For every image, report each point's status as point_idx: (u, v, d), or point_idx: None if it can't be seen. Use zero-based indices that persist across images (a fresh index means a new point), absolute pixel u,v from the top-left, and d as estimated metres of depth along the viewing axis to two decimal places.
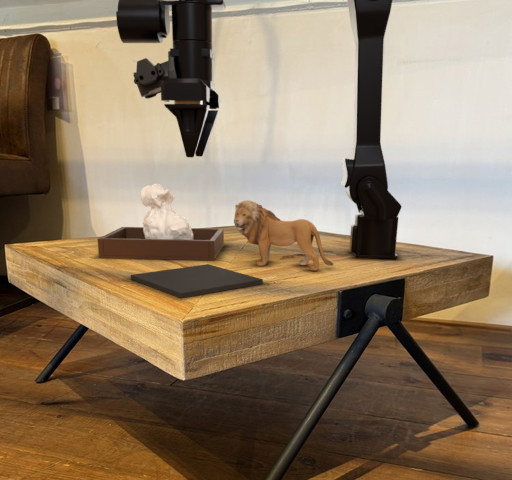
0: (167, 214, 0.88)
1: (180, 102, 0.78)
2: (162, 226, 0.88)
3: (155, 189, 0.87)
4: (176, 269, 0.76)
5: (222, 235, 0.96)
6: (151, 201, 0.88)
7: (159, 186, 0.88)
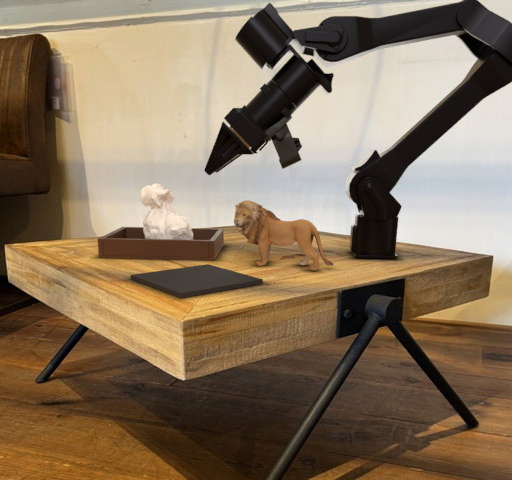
0: (167, 214, 0.88)
1: None
2: (162, 226, 0.88)
3: (155, 189, 0.87)
4: (176, 269, 0.76)
5: (222, 235, 0.96)
6: (151, 201, 0.88)
7: (159, 186, 0.88)
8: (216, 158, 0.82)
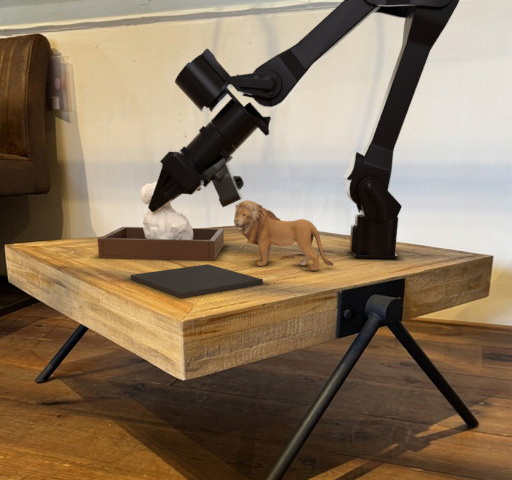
0: (167, 212, 0.88)
1: None
2: (162, 224, 0.88)
3: None
4: (176, 269, 0.76)
5: (222, 235, 0.96)
6: None
7: None
8: (159, 196, 0.86)
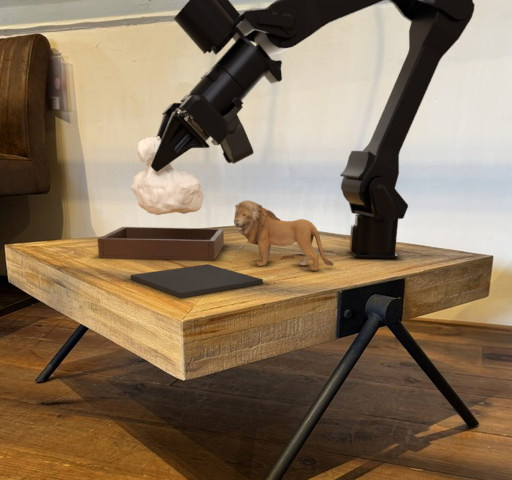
0: (172, 171, 0.76)
1: None
2: (169, 185, 0.76)
3: (157, 141, 0.75)
4: (176, 269, 0.76)
5: (222, 235, 0.96)
6: (153, 156, 0.75)
7: (159, 139, 0.76)
8: (165, 152, 0.74)
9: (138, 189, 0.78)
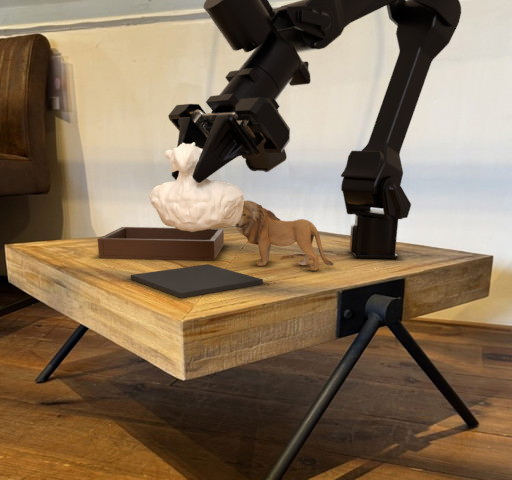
0: (211, 182, 0.68)
1: None
2: (212, 197, 0.67)
3: (198, 148, 0.65)
4: (176, 269, 0.76)
5: (222, 235, 0.96)
6: (193, 165, 0.66)
7: None
8: (211, 161, 0.65)
9: (169, 203, 0.68)
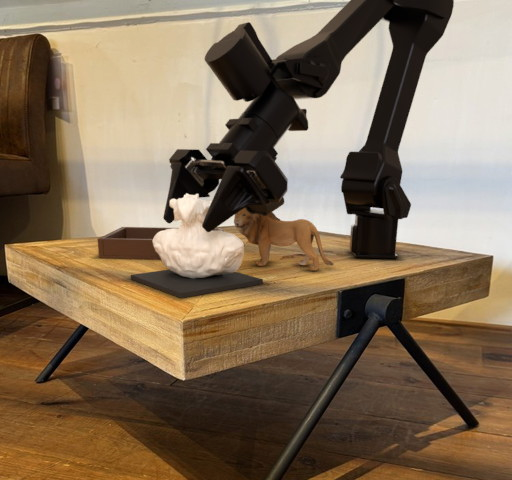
0: (213, 232, 0.69)
1: None
2: (213, 248, 0.69)
3: (201, 201, 0.67)
4: None
5: None
6: (196, 217, 0.67)
7: (198, 197, 0.68)
8: (221, 211, 0.65)
9: (171, 251, 0.69)
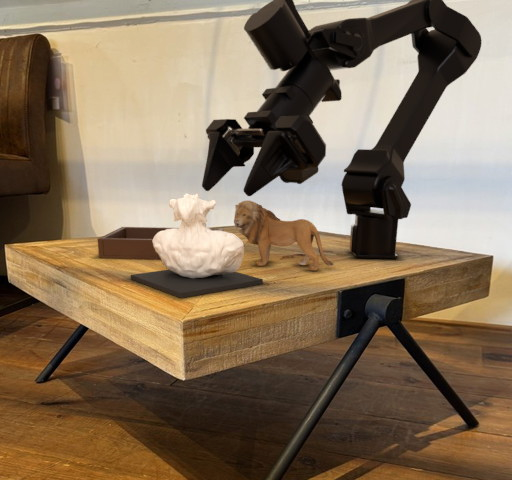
0: (213, 232, 0.69)
1: None
2: (213, 248, 0.69)
3: (201, 201, 0.67)
4: None
5: None
6: (195, 217, 0.67)
7: (198, 197, 0.68)
8: (261, 175, 0.67)
9: (171, 251, 0.69)
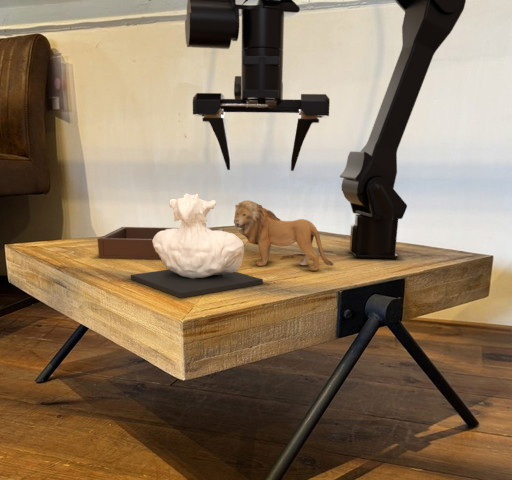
0: (213, 232, 0.69)
1: None
2: (213, 248, 0.69)
3: (201, 201, 0.67)
4: None
5: None
6: (195, 217, 0.67)
7: (198, 197, 0.68)
8: None
9: (171, 251, 0.69)
